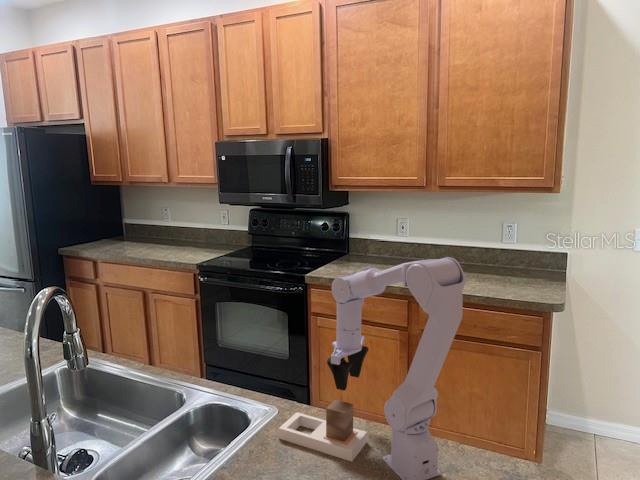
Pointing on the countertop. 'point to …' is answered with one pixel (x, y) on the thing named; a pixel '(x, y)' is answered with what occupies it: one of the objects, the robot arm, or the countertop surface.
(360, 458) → the countertop surface
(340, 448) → the socket block
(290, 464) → the countertop surface
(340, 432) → the plug
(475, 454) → the countertop surface
